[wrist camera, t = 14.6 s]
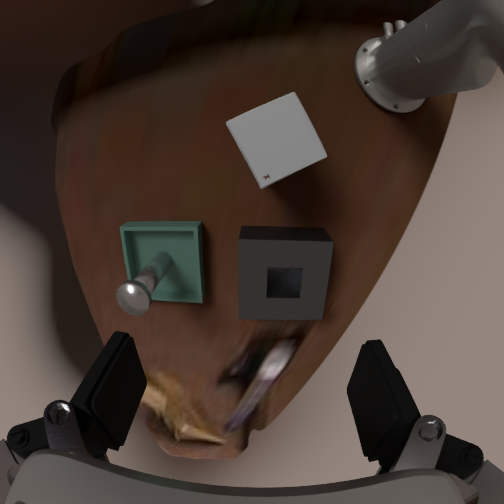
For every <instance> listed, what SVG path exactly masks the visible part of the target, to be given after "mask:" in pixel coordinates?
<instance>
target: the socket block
mask: <svg viewBox="0 0 504 504" xmlns="http://www.w3.org/2000/svg"><path fill="white" fill-rule="evenodd" d="M333 243H334V242H333V240H332V239H331V238H330V236H329V235H328V234H327V232H326V231H325V230H324V228H304V227H272V226H242V227H241V231H240V236H239V319H253V320H322V316H323V311H324V305H325V299H326V293H327V286H328V280H329V273H330V266H331V259H332V251H333Z"/></svg>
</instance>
